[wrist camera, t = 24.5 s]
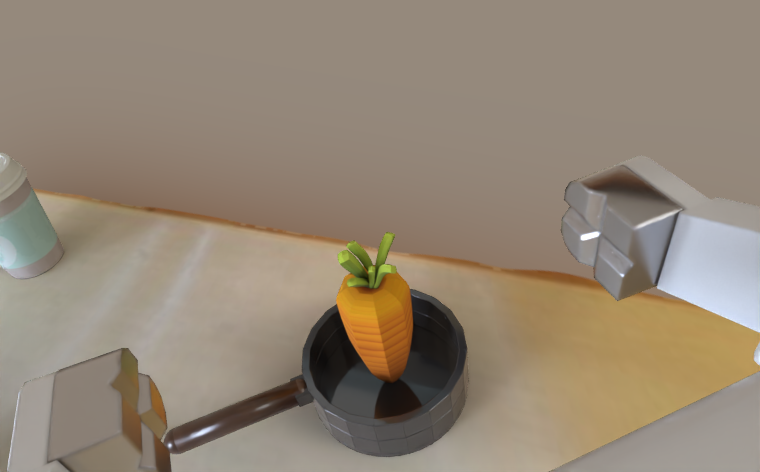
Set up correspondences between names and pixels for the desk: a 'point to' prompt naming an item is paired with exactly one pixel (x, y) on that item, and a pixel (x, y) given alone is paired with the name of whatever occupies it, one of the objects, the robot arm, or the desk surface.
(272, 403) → the pan handle
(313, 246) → the desk surface
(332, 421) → the pan
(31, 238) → the coffee cup
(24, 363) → the desk surface
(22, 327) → the desk surface
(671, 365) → the desk surface
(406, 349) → the carrot
